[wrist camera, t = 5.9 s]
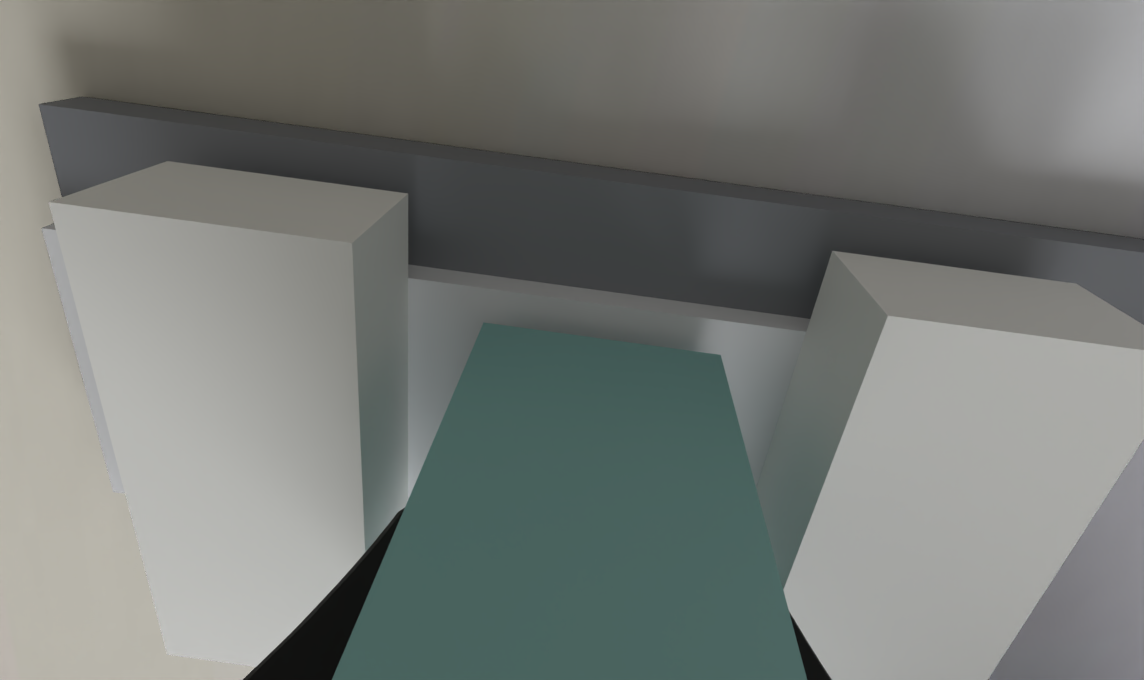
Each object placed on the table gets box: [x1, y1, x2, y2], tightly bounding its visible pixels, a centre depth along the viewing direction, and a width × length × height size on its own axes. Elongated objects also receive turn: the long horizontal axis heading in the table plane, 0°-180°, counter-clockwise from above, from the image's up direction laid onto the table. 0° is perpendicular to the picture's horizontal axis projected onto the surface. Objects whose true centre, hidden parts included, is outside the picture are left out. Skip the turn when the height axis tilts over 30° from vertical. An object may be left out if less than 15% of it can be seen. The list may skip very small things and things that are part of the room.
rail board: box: [39, 97, 1144, 680], centre depth 12 cm, size 20×10×4 cm, turn 84°
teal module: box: [332, 322, 807, 680], centre depth 9 cm, size 4×6×8 cm, turn 174°
